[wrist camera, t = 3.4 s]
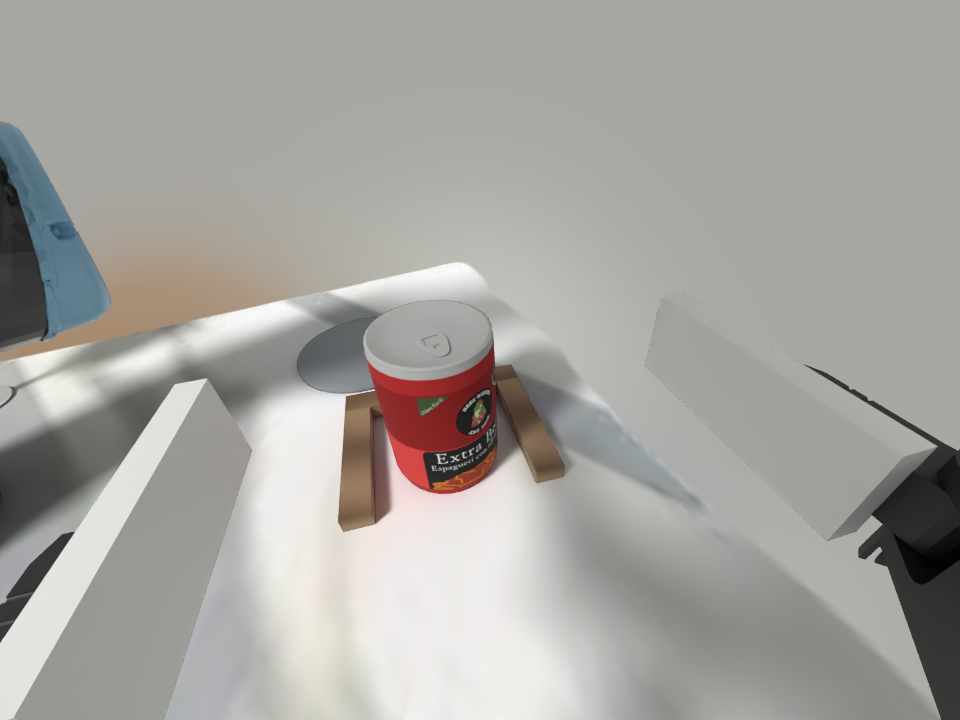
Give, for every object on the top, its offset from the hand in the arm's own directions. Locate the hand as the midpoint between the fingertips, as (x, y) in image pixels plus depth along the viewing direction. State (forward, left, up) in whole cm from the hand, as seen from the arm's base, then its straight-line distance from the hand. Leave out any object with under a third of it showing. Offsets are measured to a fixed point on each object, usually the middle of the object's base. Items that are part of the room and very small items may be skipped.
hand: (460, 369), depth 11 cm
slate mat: (-22, +16, -16) cm, 31 cm away
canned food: (-7, +8, -16) cm, 19 cm away
